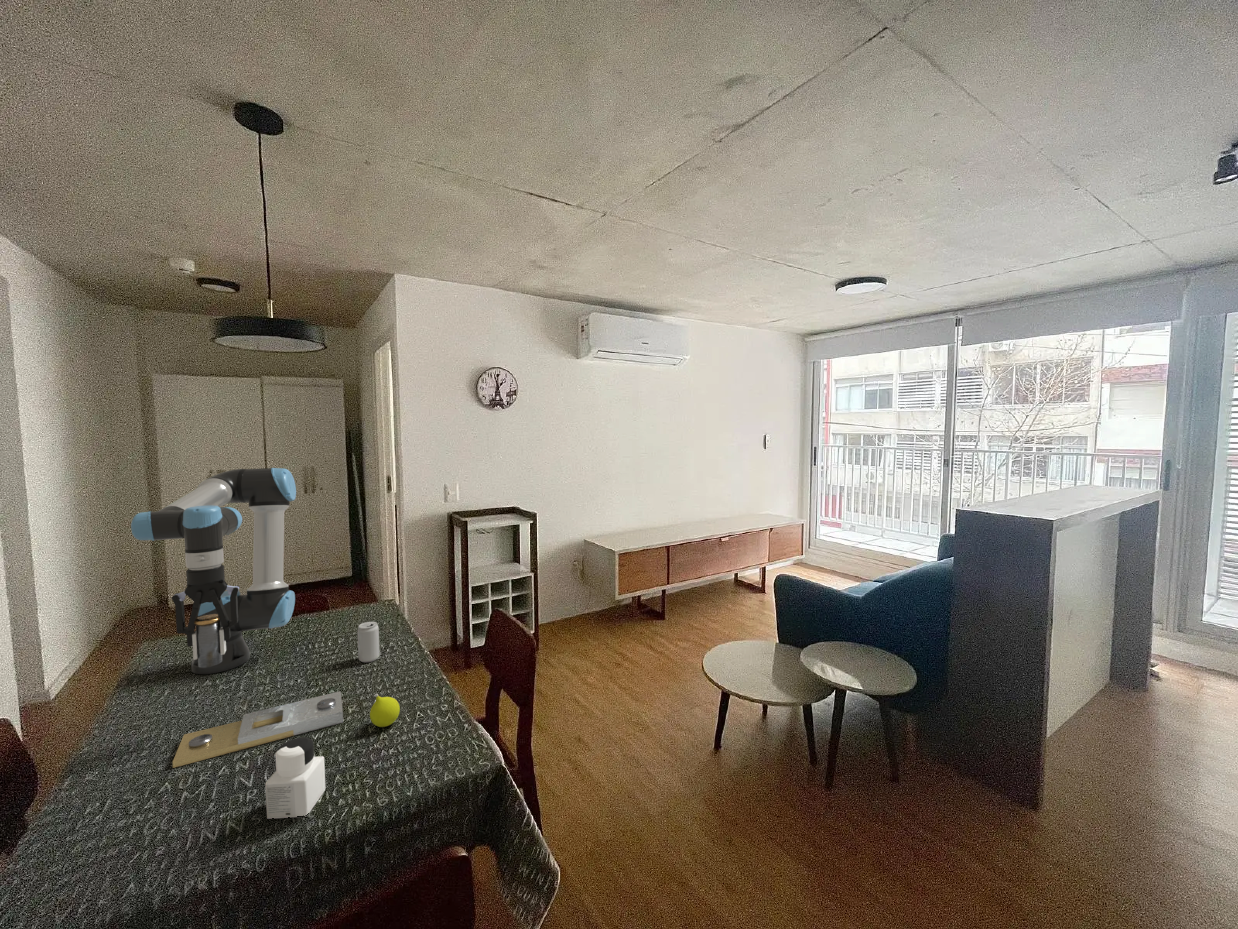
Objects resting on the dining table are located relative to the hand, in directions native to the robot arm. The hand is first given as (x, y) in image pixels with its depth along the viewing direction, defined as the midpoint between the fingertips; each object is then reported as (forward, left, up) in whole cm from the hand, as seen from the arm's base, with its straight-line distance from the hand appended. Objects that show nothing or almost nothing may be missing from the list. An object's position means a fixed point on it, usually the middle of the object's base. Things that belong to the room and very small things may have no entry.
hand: (210, 654), depth 129 cm
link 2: (+10, +18, -19) cm, 28 cm away
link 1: (+10, +6, -19) cm, 22 cm away
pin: (0, 0, -2) cm, 2 cm away
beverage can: (-21, +38, -19) cm, 48 cm away
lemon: (+23, +38, -19) cm, 49 cm away
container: (+44, +19, -19) cm, 52 cm away
